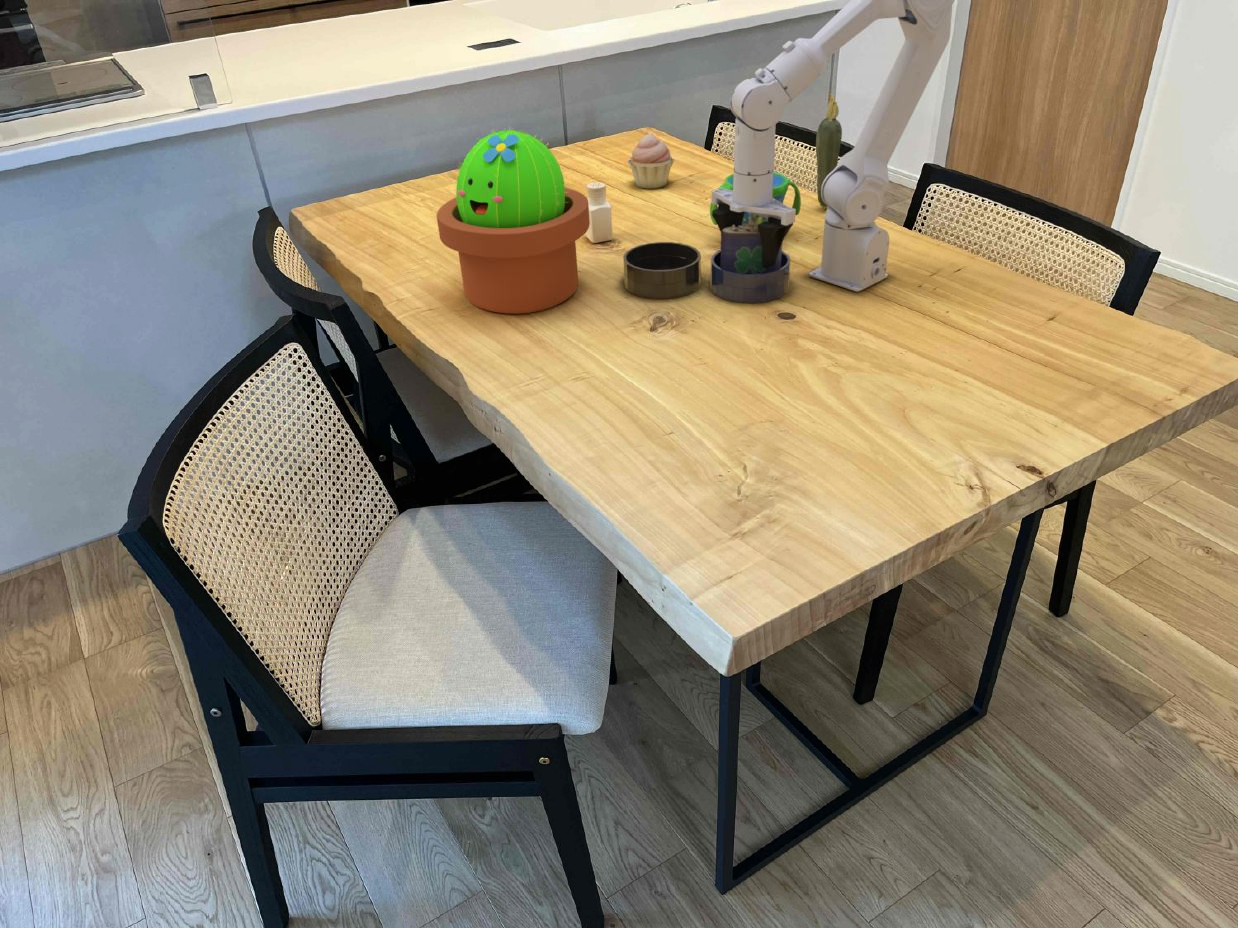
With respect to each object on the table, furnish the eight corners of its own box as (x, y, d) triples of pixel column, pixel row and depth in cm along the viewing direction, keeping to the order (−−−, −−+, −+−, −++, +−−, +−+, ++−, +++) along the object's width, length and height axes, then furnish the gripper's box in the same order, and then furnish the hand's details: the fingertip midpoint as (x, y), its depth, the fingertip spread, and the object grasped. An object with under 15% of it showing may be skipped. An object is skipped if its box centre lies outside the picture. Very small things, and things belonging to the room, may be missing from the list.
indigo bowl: (804, 286, 143) (806, 258, 141) (752, 310, 137) (754, 281, 134) (746, 265, 151) (747, 239, 148) (694, 288, 144) (694, 260, 142)
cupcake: (683, 180, 188) (682, 129, 183) (660, 194, 182) (659, 142, 176) (643, 174, 193) (642, 125, 187) (619, 188, 186) (617, 136, 181)
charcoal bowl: (716, 282, 146) (716, 254, 143) (661, 306, 139) (660, 278, 137) (663, 262, 153) (662, 236, 151) (608, 284, 147) (607, 257, 144)
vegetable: (835, 214, 168) (845, 98, 157) (810, 213, 169) (819, 98, 158) (835, 206, 172) (845, 92, 161) (811, 205, 173) (819, 92, 162)
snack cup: (789, 224, 165) (793, 166, 160) (807, 245, 157) (812, 185, 151) (703, 231, 164) (703, 174, 158) (716, 253, 155) (717, 193, 150)
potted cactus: (507, 256, 159) (489, 103, 144) (618, 277, 149) (610, 115, 135) (422, 305, 143) (393, 139, 129) (539, 333, 133) (521, 157, 119)
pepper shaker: (614, 240, 162) (611, 186, 157) (592, 244, 161) (589, 190, 156) (605, 233, 165) (602, 180, 160) (584, 237, 164) (581, 183, 159)
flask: (779, 280, 144) (783, 213, 138) (781, 288, 142) (785, 221, 136) (719, 282, 145) (720, 215, 139) (720, 290, 142) (721, 223, 136)
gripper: (697, 166, 136) (697, 255, 144) (774, 187, 127) (769, 280, 134) (730, 155, 140) (728, 242, 147) (807, 174, 131) (800, 266, 138)
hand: (750, 259), depth 141 cm, fingers open, 7 cm apart
